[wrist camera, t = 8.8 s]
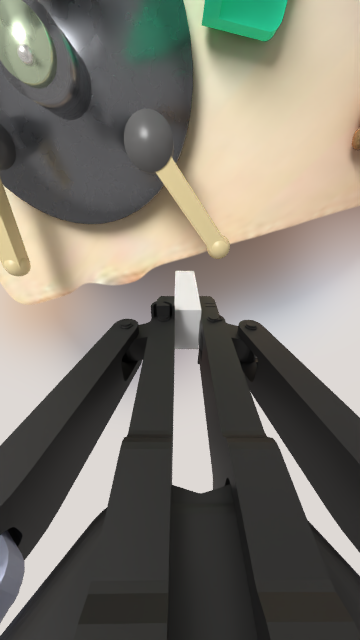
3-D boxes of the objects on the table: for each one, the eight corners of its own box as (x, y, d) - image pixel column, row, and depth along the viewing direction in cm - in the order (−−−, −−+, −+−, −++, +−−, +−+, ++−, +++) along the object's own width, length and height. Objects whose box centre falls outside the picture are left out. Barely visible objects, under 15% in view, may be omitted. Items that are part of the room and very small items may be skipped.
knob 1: (-40, 115, 24) (-86, 99, 20) (5, 116, 24) (-31, 100, 20) (18, 267, 33) (-5, 278, 29) (51, 268, 33) (32, 279, 29)
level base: (-149, -166, 17) (-477, -524, 8) (200, -146, 17) (222, -462, 9) (-1, 219, 31) (-67, 230, 23) (186, 224, 32) (189, 236, 24)
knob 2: (123, 145, 25) (112, 136, 21) (154, 109, 24) (149, 92, 19) (206, 260, 32) (210, 270, 28) (234, 239, 31) (243, 246, 27)
